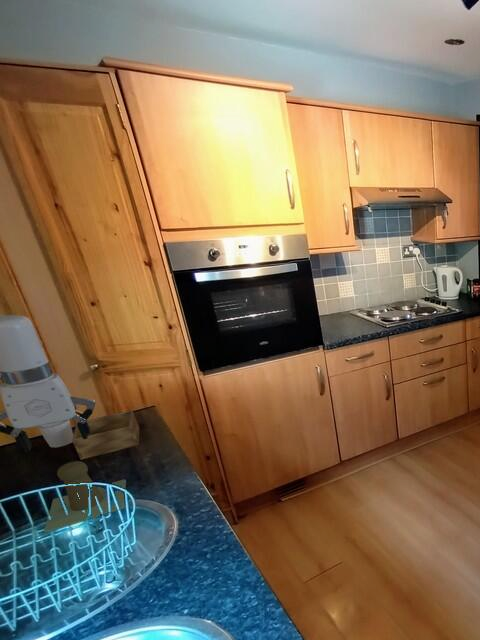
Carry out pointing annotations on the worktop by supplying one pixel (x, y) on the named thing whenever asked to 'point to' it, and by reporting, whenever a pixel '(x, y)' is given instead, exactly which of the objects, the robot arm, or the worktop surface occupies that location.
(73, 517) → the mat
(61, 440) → the grey cup
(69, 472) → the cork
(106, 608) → the worktop surface
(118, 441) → the basket
